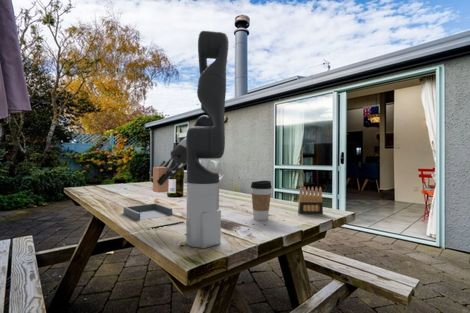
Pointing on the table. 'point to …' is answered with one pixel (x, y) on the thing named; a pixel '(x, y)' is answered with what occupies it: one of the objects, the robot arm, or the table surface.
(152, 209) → the grey square tray
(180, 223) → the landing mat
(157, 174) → the block
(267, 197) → the coffee cup
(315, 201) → the ammunition clip
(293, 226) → the table surface
